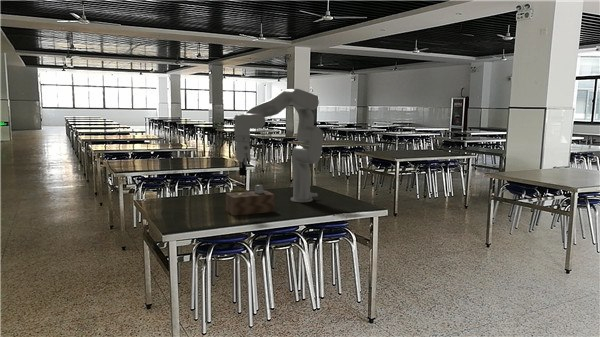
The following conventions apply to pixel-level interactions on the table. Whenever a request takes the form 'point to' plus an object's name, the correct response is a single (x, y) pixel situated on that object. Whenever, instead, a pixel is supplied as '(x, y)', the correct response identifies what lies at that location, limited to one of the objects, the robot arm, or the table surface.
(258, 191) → the steel peg
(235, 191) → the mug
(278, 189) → the table surface
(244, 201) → the walnut block
